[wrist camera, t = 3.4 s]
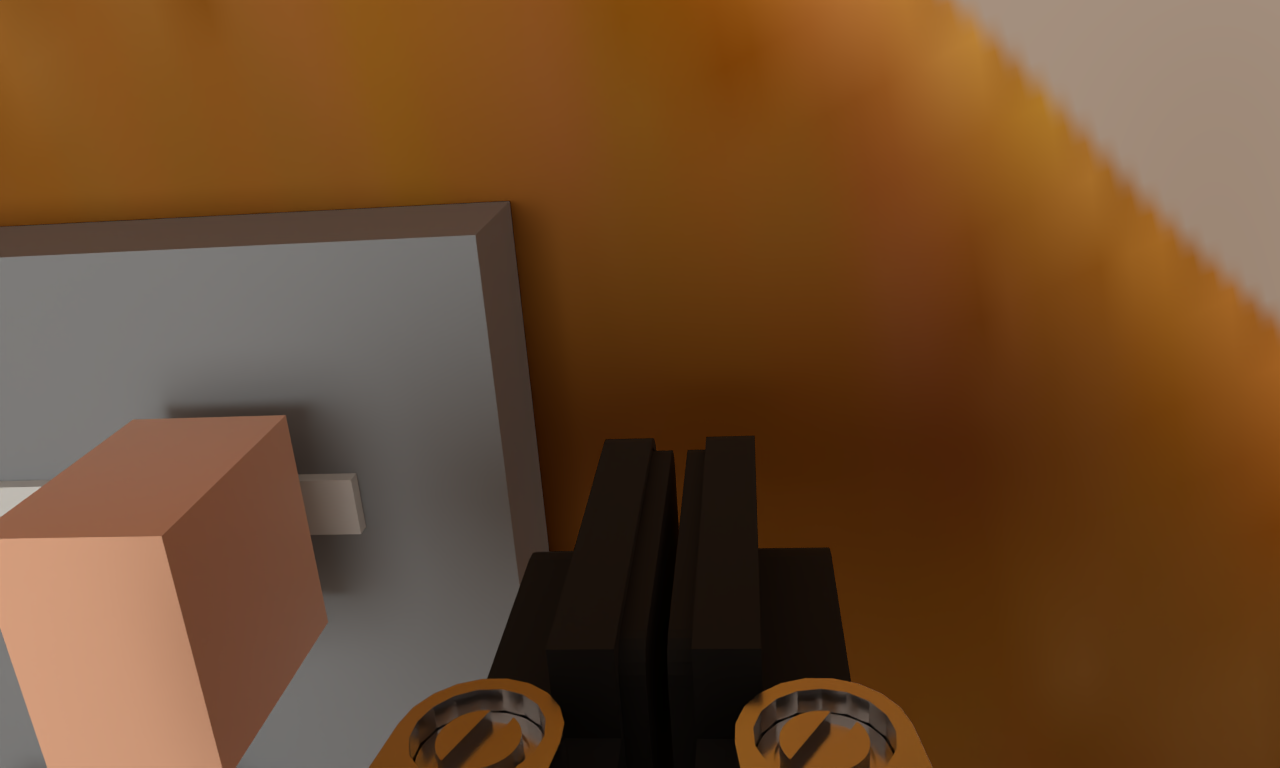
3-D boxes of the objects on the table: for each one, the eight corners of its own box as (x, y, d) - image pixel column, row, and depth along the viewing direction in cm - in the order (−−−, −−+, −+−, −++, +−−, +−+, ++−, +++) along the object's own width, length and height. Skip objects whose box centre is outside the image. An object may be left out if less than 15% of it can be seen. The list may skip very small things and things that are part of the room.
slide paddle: (285, 414, 13) (161, 536, 10) (328, 622, 14) (226, 782, 11) (133, 419, 13) (-31, 538, 10) (185, 623, 14) (51, 781, 11)
